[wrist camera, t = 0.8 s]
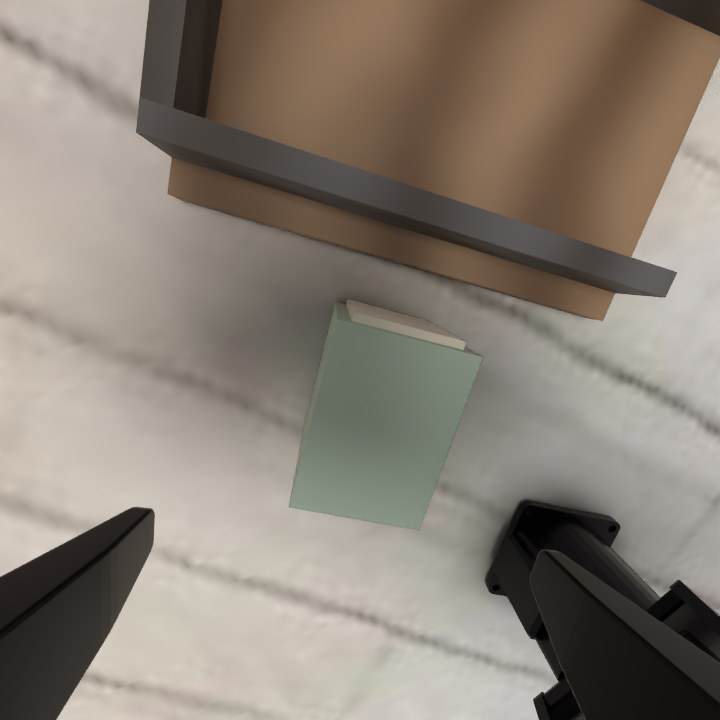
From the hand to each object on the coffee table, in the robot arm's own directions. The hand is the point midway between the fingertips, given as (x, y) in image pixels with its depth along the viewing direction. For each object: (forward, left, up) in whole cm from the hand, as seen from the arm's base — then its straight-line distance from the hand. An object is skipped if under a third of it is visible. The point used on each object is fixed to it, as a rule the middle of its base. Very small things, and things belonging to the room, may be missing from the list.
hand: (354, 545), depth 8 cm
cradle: (-1, -14, -10) cm, 17 cm away
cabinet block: (-1, -1, -10) cm, 10 cm away
